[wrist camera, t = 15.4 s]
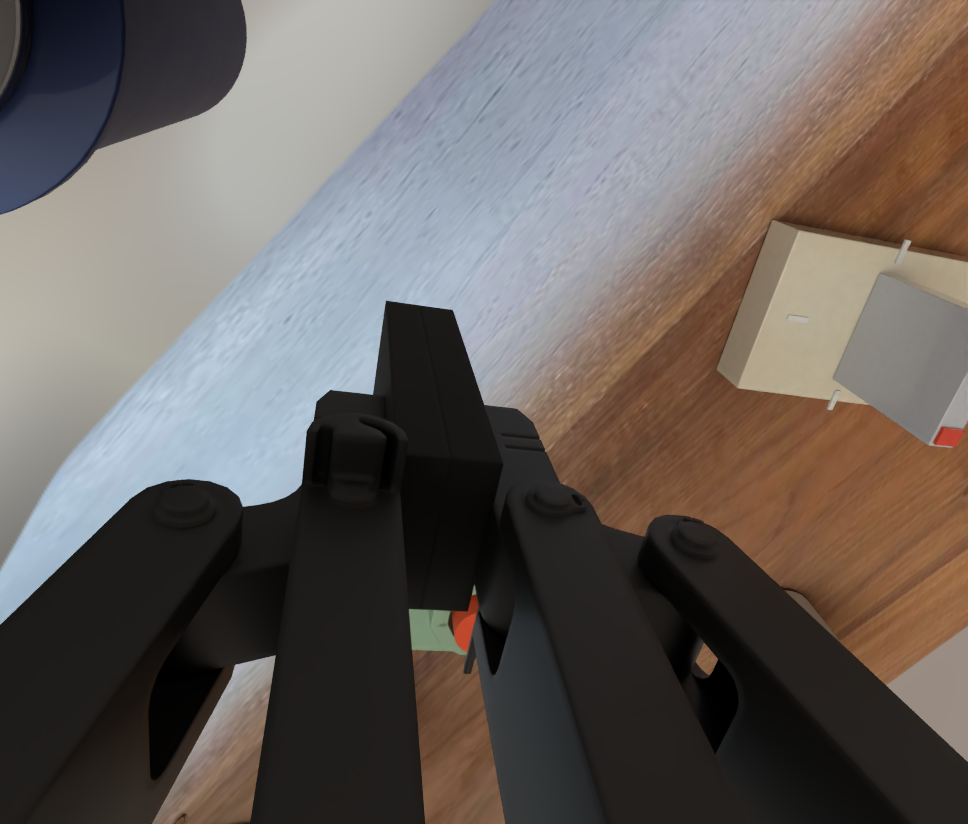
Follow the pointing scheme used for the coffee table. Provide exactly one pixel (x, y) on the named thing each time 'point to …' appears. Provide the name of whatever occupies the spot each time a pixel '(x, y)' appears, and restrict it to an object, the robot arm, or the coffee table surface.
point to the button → (464, 624)
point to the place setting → (180, 821)
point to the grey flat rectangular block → (911, 359)
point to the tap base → (819, 306)
